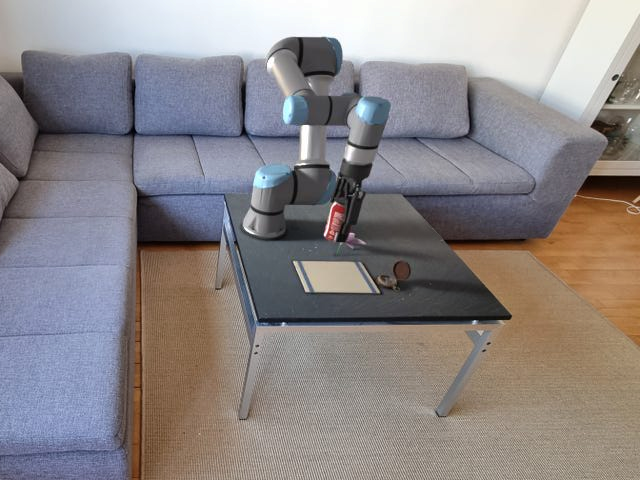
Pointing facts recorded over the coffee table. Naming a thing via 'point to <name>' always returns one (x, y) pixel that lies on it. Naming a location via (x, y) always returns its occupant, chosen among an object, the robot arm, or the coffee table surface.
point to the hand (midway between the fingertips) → (336, 234)
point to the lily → (352, 241)
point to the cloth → (335, 277)
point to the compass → (395, 275)
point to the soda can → (335, 219)
